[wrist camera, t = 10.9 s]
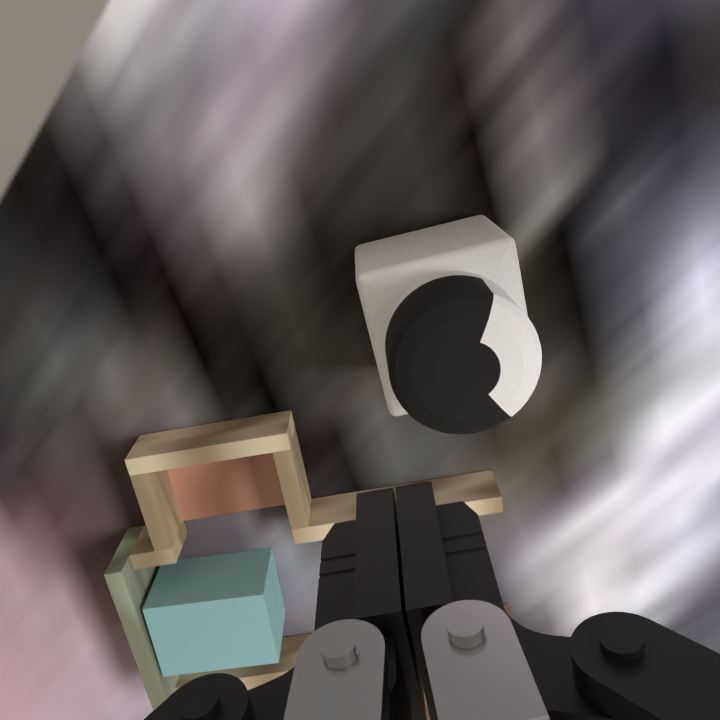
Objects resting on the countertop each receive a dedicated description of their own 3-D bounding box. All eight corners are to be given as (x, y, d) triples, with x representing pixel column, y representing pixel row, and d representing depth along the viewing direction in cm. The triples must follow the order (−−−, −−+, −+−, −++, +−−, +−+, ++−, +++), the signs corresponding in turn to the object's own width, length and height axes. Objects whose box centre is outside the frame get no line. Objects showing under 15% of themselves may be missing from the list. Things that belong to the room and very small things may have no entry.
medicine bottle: (383, 366, 39) (397, 472, 28) (352, 244, 37) (354, 306, 25) (507, 337, 38) (573, 432, 27) (484, 212, 36) (546, 259, 25)
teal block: (271, 546, 43) (263, 594, 39) (285, 610, 45) (279, 662, 41) (162, 560, 43) (142, 609, 39) (180, 623, 45) (163, 676, 41)
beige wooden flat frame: (479, 378, 39) (495, 411, 35) (517, 685, 47) (534, 742, 43) (98, 442, 40) (69, 481, 36) (197, 731, 48) (183, 791, 44)
